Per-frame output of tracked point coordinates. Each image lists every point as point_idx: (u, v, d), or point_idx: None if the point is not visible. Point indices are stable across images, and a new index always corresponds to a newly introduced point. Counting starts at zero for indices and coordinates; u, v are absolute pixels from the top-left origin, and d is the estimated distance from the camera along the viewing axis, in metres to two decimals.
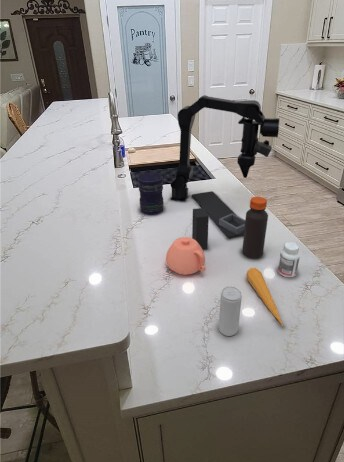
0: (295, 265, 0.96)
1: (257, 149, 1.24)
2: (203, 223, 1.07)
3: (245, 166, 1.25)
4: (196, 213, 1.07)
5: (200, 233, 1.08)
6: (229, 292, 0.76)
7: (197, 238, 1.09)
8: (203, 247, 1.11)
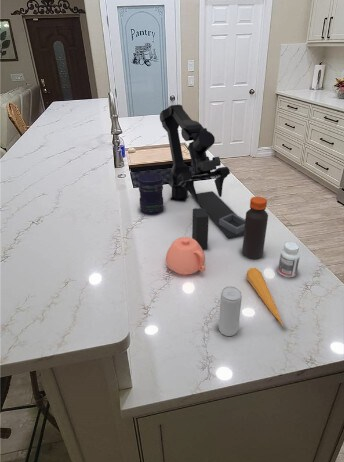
0: (295, 265, 0.96)
1: (197, 166, 1.14)
2: (203, 223, 1.07)
3: (190, 187, 1.15)
4: (196, 213, 1.07)
5: (200, 233, 1.08)
6: (229, 292, 0.76)
7: (197, 238, 1.09)
8: (203, 247, 1.11)
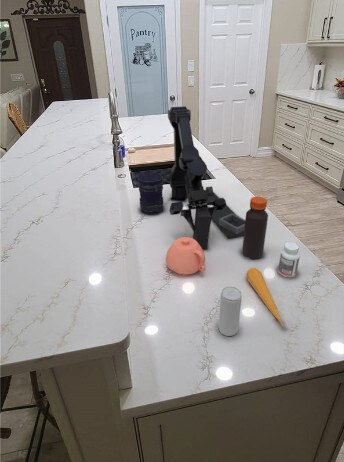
0: (295, 265, 0.96)
1: (190, 196, 1.09)
2: (205, 223, 1.06)
3: (188, 217, 1.11)
4: (199, 212, 1.07)
5: (201, 233, 1.08)
6: (229, 292, 0.76)
7: (198, 237, 1.09)
8: (203, 247, 1.11)
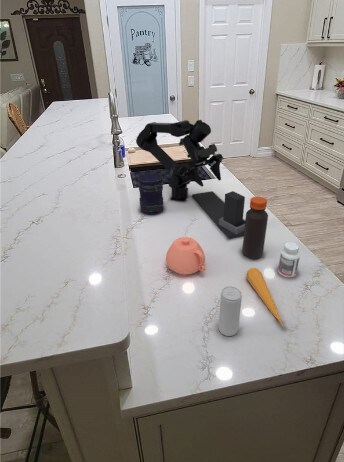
0: (295, 265, 0.96)
1: (197, 155, 1.25)
2: (241, 204, 1.16)
3: (194, 175, 1.25)
4: (232, 196, 1.16)
5: (238, 214, 1.17)
6: (229, 292, 0.76)
7: (236, 219, 1.18)
8: None
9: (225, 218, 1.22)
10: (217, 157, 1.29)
